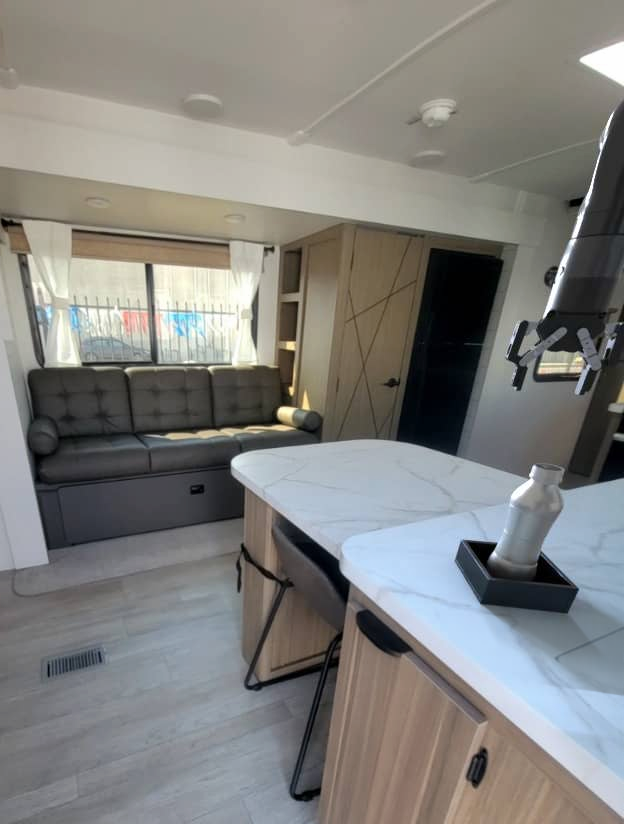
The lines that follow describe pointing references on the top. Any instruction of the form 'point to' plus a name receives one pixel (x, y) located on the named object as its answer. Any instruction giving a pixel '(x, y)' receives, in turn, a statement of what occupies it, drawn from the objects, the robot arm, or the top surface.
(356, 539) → the top surface
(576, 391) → the robot arm
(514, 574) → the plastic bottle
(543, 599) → the dark square tray
